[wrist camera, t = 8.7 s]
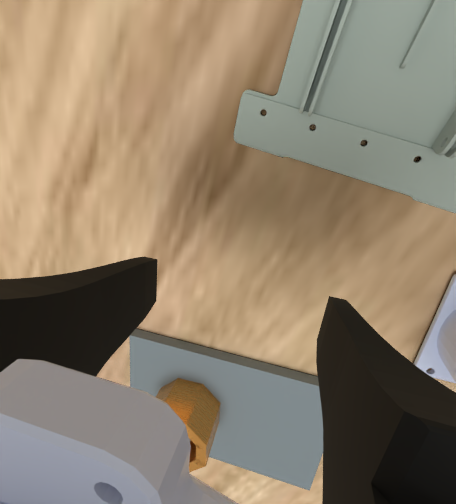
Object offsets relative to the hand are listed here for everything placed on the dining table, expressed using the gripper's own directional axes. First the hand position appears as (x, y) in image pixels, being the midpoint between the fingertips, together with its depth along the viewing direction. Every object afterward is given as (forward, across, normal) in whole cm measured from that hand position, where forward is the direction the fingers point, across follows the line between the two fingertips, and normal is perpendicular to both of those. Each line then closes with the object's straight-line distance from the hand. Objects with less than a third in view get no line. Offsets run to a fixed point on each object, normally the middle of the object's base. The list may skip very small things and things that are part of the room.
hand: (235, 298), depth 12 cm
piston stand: (+9, +1, +17) cm, 19 cm away
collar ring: (+8, +4, +17) cm, 19 cm away
